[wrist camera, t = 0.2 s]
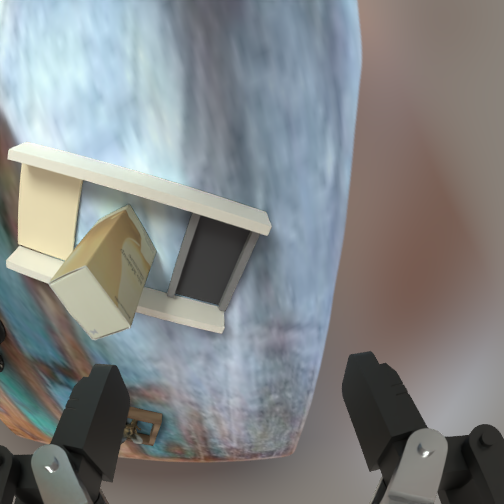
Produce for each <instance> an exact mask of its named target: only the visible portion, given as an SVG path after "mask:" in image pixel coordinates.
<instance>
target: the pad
mask: <svg viewBox="0 0 504 504" xmlns="http://www.w3.org/2000/svg"><path fill="white" fill-rule="evenodd" d="M82 184H83V180H82V179H78V178H75V177H71V176H67V175H64V174H60V173H57V172H53V171H50V170H46V169H42V168H39V167H35V166H31V165H28V164H24V163H22V168H21V178H20V191H19V210H18V244H20V245H23V246H25V247H28V248H31V249H34V250H36V251H39V252H42V253H45V254H48V255H51V256H54V257H56V258H59V259H62V260H65V261H66V259H67V258H68V257H69V255H70V254H71V253H72V252H73V250H74V243H75V233H76V224H77V216H78V209H79V202H80V195H81V189H82Z"/></svg>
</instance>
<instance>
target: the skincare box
mask: <svg viewBox="0 0 504 504" xmlns="http://www.w3.org/2000/svg"><path fill="white" fill-rule="evenodd" d="M155 254H156V250H155V248H154V246H153V244H152V242H151V240H150V238H149V237H148V235H147V233H146V231H145V229H144V228H143V226H142V224H141V222H140V221H139V219H138V217H137V216H136V214H135V212H134V211H133V209H132V207H131V206H130V205H126V206H124V207H122V208H120V209H118V210H116V211H114V212H112V213H110V214H108V215H106V216H104V217H102V218H101V219H99V220H98V222H97V223H96V224H95V225H94V226H93V227H92V228H91V230H90V231H89V232H88V233H87V234H86V236H85V237H84V238H83V239H82V240H81V242H80V243H79V244H78V245H77V247H76V248H75V249H74V250H73V252H72V253H71V254H70V255H69V257H68V258H67V259H66V261H65V262H64V263H63V264H62V266H61V267H60V268H59V270H58V271H57V272H56V274H55V275H54V276H53V278H52V279H51V280H50V282H49V286H50V287H51V289H52V290H53V291H54V293H55V294H56V295H57V297H58V298H59V299H60V301H61V302H62V303H63V305H64V306H65V307H66V309H67V310H68V312H69V313H70V314H71V316H72V317H73V318H74V319H75V320H76V321H77V322H78V323H79V324H80V326H81V327H82V328H83V329H84V330H85V332H86V333H87V334H88V335H89V336H90V338H91V339H92V340H97V339H99V338H103V337H106V336H109V335H112V334H115V333H118V332H121V331H124V330H126V329H129V328H131V325H132V321H133V318H134V315H135V312H136V309H137V306H138V303H139V300H140V297H141V294H142V291H143V288H144V285H145V282H146V279H147V276H148V273H149V271H150V268H151V265H152V262H153V260H154V257H155Z"/></svg>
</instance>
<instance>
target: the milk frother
mask: <svg viewBox="0 0 504 504" xmlns="http://www.w3.org/2000/svg"><path fill="white" fill-rule="evenodd" d="M4 339H5V330H4V327H3V325H2V323H1V321H0V343H2V342H3V341H4ZM3 368H4V362H3V360H2V358H1V356H0V372H2V370H3Z"/></svg>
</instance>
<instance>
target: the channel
mask: <svg viewBox="0 0 504 504" xmlns="http://www.w3.org/2000/svg"><path fill="white" fill-rule="evenodd" d="M8 159H9V160H13V161H17V162H20V163H24V164H28V165H31V166H35V167H39V168H42V169H46V170H50V171H53V172H57V173H60V174H64V175H67V176H71V177H75V178H78V179H82V180H85V181H89V182H92V183H96V184H99V185H102V186H106V187H109V188H113V189H116V190H120V191H123V192H126V193H130V194H133V195H137V196H140V197H143V198H147V199H150V200H153V201H157V202H160V203H163V204H167V205H170V206H173V207H176V208H180V209H183V210H186V211H189V212H193V213H196V214H199V215H202V216H206V217H209V218H212V219H215V220H219V221H222V222H225V223H228V224H231V225H234V226H238V227H241V228H244V229H247V230H250V231H253V232H257V233H260V234H263V235H266V236H268V234H269V232H270V229H271V227H272V226H271V223H270V221H269V218H268V216H267V213H266V212H264V211H261V210H259V209H256V208H253V207H250V206H247V205H244V204H241V203H238V202H235V201H232V200H229V199H226V198H222V197H219V196H216V195H213V194H210V193H207V192H204V191H201V190H198V189H194V188H191V187H188V186H185V185H182V184H178V183H175V182H172V181H168V180H165V179H162V178H159V177H155V176H152V175H148V174H145V173H142V172H138V171H135V170H131V169H128V168H124V167H121V166H117V165H114V164H110V163H107V162H103V161H99V160H96V159H92V158H88V157H85V156H81V155H77V154H73V153H70V152H66V151H62V150H58V149H54V148H50V147H46V146H42V145H38V144H34V143H30V142H25V143H23V144H20V145H18V146H15V147H13V148H11V149H9V151H8ZM63 263H64V261H61V260H58V259H55V258H53V257H50V256H47V255H44V254H41V253H38V252H36V251H33V250H30V249H27V248H25V247H22V246H19V247H18V248H17V249H16V250H15V251H14V252H13V254H12V255H11V256H10V257H9V258H8V259H7V260H6V265H7V268H9V269H12V270H14V271H17V272H19V273H22V274H24V275H27V276H29V277H32V278H35V279H37V280H40V281H43V282H45V283H48V284H49V282H50V280H51V279H52V278H53V276H54V275H55V274H56V272H57V271H58V270H59V268H60V267H61V266H62V264H63ZM136 312H138V313H141V314H145V315H148V316H152V317H156V318H159V319H163V320H167V321H171V322H175V323H179V324H183V325H187V326H191V327H195V328H199V329H203V330H207V331H212V332H216V333H221V334H222V332H223V330H224V328H225V326H224V311H222V310H219V307H218V306H214V305H210V304H206V303H203V302H199V301H195V300H191V299H187V298H183V297H180V296H176V295H174V298H172V297H168V296H167V293H165V292H162V291H158V290H154V289H151V288H147V287H144V288H143V291H142V294H141V297H140V300H139V303H138V306H137V309H136Z"/></svg>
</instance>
